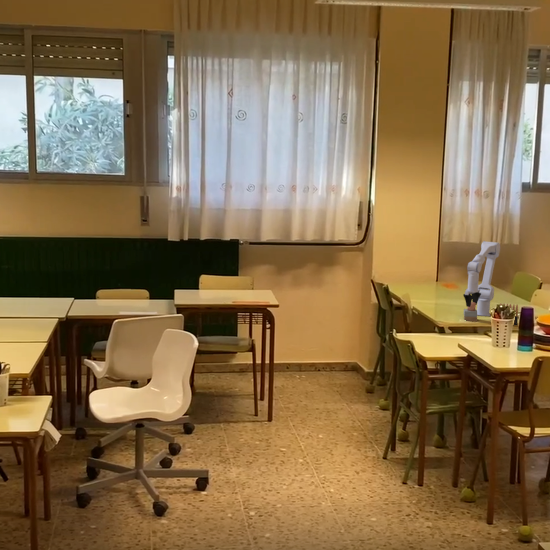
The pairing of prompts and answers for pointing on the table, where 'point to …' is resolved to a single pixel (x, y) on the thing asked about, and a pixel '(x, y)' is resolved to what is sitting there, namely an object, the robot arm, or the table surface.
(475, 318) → the tower base
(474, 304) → the pink cylinder
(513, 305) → the ammunition clip
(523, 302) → the table surface
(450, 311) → the table surface
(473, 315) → the tower top
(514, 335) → the table surface
